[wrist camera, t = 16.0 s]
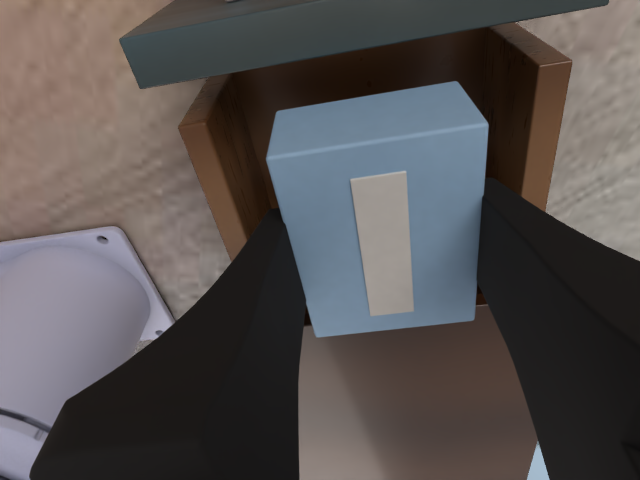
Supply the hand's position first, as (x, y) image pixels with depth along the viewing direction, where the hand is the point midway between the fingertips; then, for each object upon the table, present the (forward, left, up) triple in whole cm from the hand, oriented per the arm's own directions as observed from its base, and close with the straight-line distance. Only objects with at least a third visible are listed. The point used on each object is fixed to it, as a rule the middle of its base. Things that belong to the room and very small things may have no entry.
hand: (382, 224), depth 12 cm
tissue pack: (0, 0, -1) cm, 1 cm away
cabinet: (0, -11, -8) cm, 14 cm away
